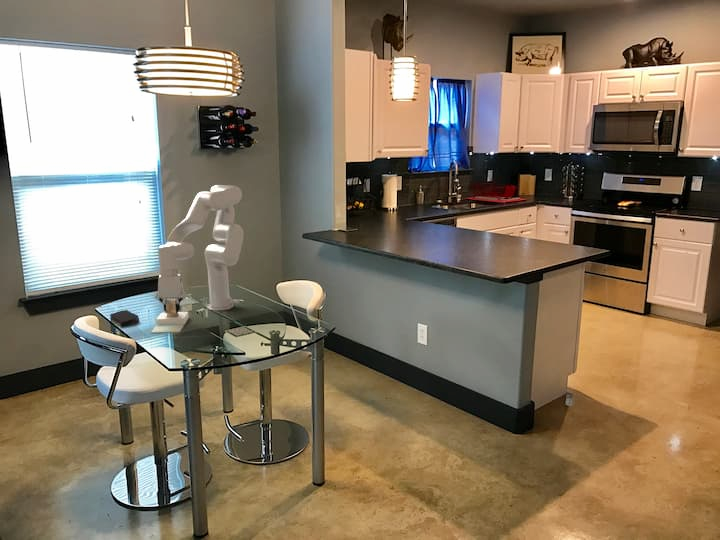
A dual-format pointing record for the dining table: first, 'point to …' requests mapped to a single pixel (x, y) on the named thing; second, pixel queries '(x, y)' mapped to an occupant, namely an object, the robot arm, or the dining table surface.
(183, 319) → the socket block
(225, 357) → the dining table surface
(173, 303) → the plug
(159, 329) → the mat
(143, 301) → the dining table surface
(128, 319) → the black sponge
